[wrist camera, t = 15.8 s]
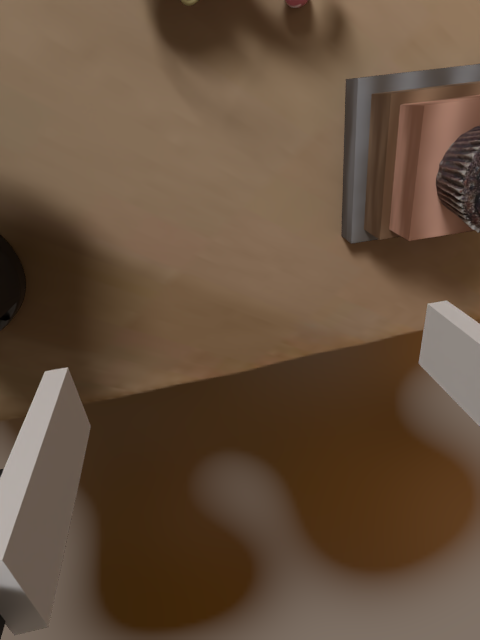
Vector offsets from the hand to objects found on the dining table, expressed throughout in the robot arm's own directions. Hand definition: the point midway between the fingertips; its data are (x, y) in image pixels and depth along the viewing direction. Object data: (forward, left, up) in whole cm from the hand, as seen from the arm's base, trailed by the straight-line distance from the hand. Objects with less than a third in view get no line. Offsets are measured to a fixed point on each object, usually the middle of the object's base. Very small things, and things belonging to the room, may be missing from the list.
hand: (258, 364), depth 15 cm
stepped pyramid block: (+26, 0, -35) cm, 43 cm away
